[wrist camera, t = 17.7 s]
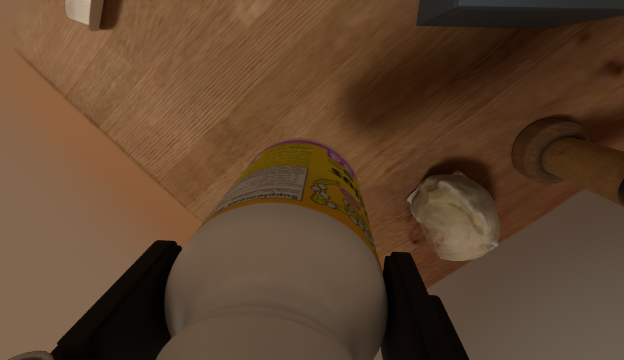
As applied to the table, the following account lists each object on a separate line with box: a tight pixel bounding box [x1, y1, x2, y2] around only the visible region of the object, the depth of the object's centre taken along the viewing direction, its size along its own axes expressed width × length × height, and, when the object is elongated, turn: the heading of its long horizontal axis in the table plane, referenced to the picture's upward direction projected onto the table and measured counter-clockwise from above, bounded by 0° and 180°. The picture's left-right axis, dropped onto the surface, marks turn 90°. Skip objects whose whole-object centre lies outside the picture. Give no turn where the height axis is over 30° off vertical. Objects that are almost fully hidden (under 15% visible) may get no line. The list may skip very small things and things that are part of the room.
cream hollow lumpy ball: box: [407, 171, 501, 261], centre depth 31 cm, size 9×8×10 cm
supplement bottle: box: [156, 138, 388, 360], centre depth 12 cm, size 7×7×13 cm
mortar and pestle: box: [512, 118, 624, 207], centre depth 24 cm, size 7×6×18 cm
